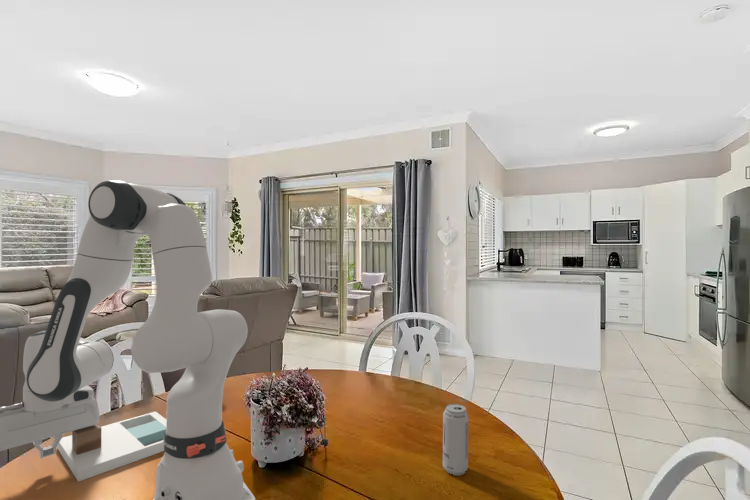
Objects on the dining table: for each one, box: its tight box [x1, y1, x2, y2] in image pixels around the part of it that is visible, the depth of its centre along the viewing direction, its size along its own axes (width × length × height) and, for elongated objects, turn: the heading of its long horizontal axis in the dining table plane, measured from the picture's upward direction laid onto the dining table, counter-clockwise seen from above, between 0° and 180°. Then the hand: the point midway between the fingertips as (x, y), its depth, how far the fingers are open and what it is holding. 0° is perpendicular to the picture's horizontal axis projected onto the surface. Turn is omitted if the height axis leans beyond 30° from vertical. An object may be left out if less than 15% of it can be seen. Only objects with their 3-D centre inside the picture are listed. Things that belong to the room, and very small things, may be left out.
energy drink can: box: [442, 403, 469, 476], centre depth 96 cm, size 6×6×15 cm
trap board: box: [56, 411, 167, 482], centre depth 106 cm, size 22×24×2 cm
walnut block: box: [71, 422, 102, 455], centre depth 100 cm, size 5×5×5 cm
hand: (47, 455), depth 94 cm, fingers closed
